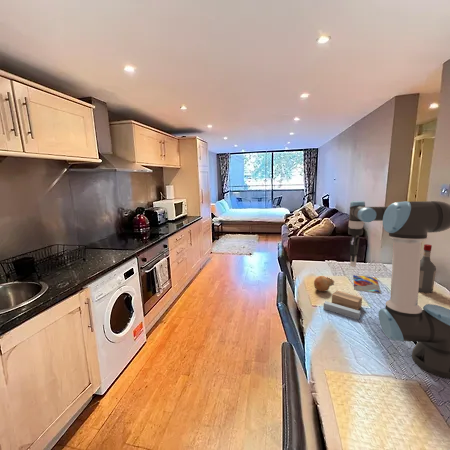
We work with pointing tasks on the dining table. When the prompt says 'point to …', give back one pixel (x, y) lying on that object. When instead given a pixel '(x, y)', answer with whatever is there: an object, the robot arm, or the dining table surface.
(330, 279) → the wooden fragment
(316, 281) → the onion
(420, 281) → the liquor
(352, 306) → the block
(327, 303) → the grey rectangular bar
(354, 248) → the robot arm
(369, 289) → the relief map
